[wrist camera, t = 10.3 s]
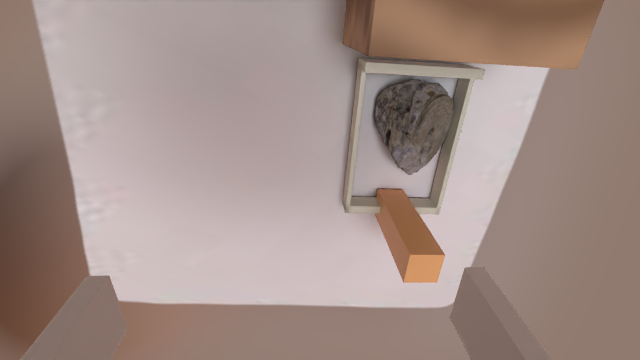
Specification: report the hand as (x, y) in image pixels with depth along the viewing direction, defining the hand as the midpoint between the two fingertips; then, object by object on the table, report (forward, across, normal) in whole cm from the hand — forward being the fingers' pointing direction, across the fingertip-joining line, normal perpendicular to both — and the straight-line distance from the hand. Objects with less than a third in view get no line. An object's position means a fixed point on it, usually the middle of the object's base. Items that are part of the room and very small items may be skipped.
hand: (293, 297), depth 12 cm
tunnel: (+29, +13, +11) cm, 34 cm away
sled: (+29, +13, -5) cm, 32 cm away
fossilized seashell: (+29, +14, -2) cm, 33 cm away
